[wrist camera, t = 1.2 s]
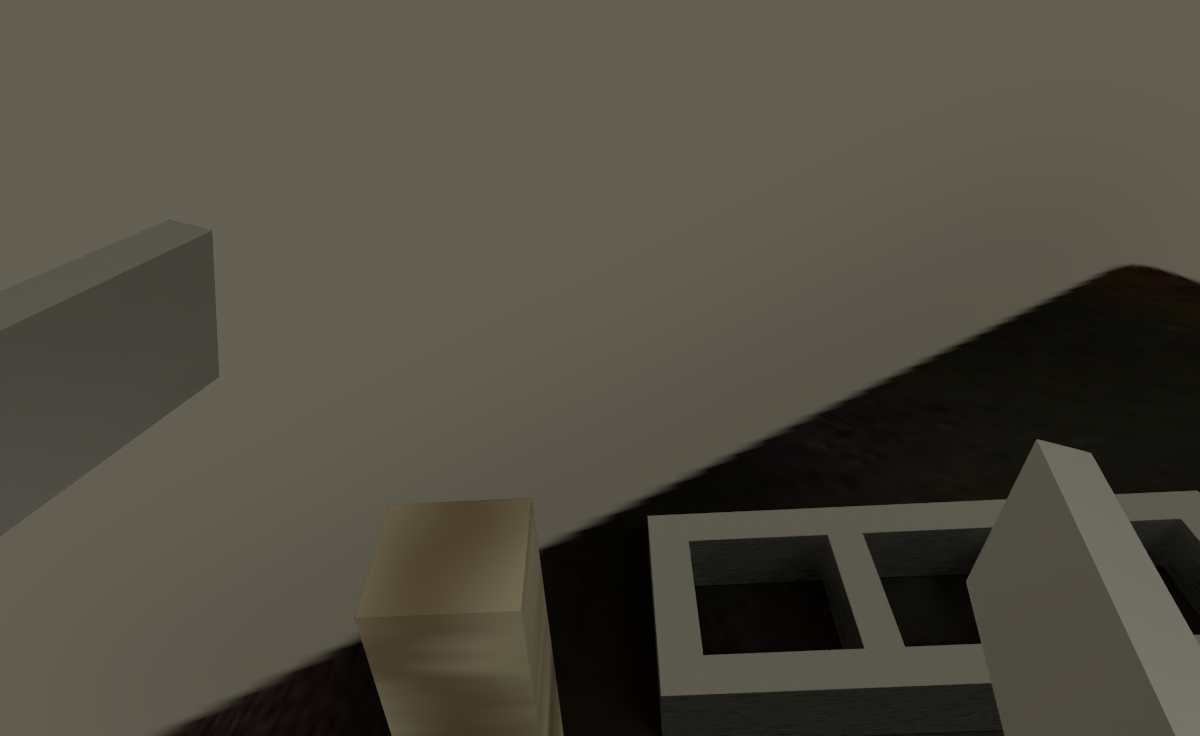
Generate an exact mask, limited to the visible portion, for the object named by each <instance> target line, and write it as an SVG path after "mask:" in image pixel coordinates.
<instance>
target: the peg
mask: <svg viewBox="0 0 1200 736" xmlns="http://www.w3.org/2000/svg"><path fill="white" fill-rule="evenodd" d="M355 621H356V624H357V627H358V631H359V634H360V637H361V640H362V643H363V646H364V650H365V653H366V656H367V659H368V662H369V665H370V668H371V672H372V675H373V678H374V681H375V684H376V687H377V691H378V694H379V697H380V700H381V703H382V706H383V709H384V713H385V716H386V719H387V722H388V725H389V728H390V732H391V735H392V736H564V735H563V727H562V720H561V713H560V705H559V698H558V690H557V683H556V676H555V668H554V661H553V653H552V646H551V639H550V631H549V624H548V616H547V609H546V602H545V594H544V587H543V579H542V572H541V565H540V557H539V550H538V542H537V535H536V528H535V520H534V513H533V505H532V498H523V499H504V500H503V499H501V500H480V501H461V502H460V501H458V502H437V503H416V504H394V505H389V506H388V509H387V512H386V516H385V519H384V522H383V526H382V529H381V532H380V536H379V539H378V542H377V546H376V549H375V552H374V555H373V559H372V562H371V565H370V568H369V572H368V575H367V578H366V582H365V585H364V588H363V592H362V595H361V598H360V601H359V605H358V608H357V611H356V615H355Z"/></svg>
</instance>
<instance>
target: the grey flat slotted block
mask: <svg viewBox="0 0 1200 736" xmlns="http://www.w3.org/2000/svg"><path fill="white" fill-rule="evenodd" d="M1114 495H1115V497H1116V498H1117V500H1118V502H1119V504H1120V505H1121V507H1122V509H1123V511H1124V513H1125V514H1126V516H1127V518H1128V520H1129V521H1130V523H1131V525H1132V527H1133V529H1134V530H1135V532H1136V534H1137V536H1138V537H1139V539H1140V541H1141V543H1142V545H1143V546H1144V548H1145V550H1146V552H1147V553H1148V555H1149V557H1150V559H1151V561H1152V562H1153V564H1154V566H1162V567H1163V569H1164V570H1165V571H1166V573H1167V574H1168V575H1169V577H1170V578H1171V579H1172V581H1173V582H1174V583H1175V585H1176V586H1177V587H1178V588H1179V590H1180V591H1181V592H1182V594H1183V595H1184V596H1185V598H1186V599H1187V600H1188V602H1189V603H1190V604H1191V606H1192V607H1193V608H1194V610H1195V611H1196V612H1197V614H1198V615H1199V616H1200V493H1199V492H1198V491H1179V492H1157V493H1135V494H1114ZM1006 500H1007V499H1005V500H984V501H962V502H940V503H918V504H897V505H875V506H853V507H832V508H810V509H788V510H766V511H745V512H723V513H701V514H680V515H658V516H648V536H649V562H650V576H651V590H652V603H653V617H654V631H655V645H656V659H657V673H658V687H659V701H660V715H661V729H662V736H861V735H888V734H914V733H940V732H966V731H992V730H1003V727H1002V723H1001V719H1000V715H999V711H998V707H997V703H996V699H995V695H994V691H993V687H992V683H991V679H990V675H989V671H988V667H987V663H986V659H985V656H984V652H983V648H982V644H964V645H940V646H916V647H905V645H904V643H903V640H902V637H901V635H900V632H899V629H898V626H897V624H896V621H895V618H894V616H893V613H892V610H891V608H890V605H889V602H888V600H887V597H886V594H885V592H884V589H883V586H882V584H881V581H880V578H889V577H912V576H935V575H958V574H970V572H971V570H972V568H973V566H974V564H975V562H976V560H977V558H978V556H979V554H980V552H981V550H982V548H983V546H984V544H985V542H986V540H987V538H988V536H989V534H990V532H991V530H992V528H993V526H994V524H995V522H996V520H997V518H998V516H999V514H1000V512H1001V510H1002V508H1003V506H1004V504H1005V502H1006ZM820 580H822V581H823V585H824V588H825V592H826V595H827V598H828V602H829V605H830V608H831V612H832V615H833V618H834V622H835V625H836V629H837V632H838V635H839V639H840V642H841V645H842V649H843V650H819V651H795V652H771V653H746V654H722V655H703V649H702V642H701V634H700V626H699V618H698V610H697V603H696V595H695V587H694V586H706V585H729V584H752V583H775V582H798V581H820ZM1194 637H1195V639H1196V640H1197V642H1198V644H1199V646H1200V635H1194Z"/></svg>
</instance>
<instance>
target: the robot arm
mask: <svg viewBox="0 0 1200 736" xmlns="http://www.w3.org/2000/svg"><path fill="white" fill-rule="evenodd" d="M218 377H219V363H218V342H217V321H216V302H215V280H214V261H213V239H212V230H208V229H204V228H200V227H196V226H193V225H188V224H185V223H181V222H177V221H173V220H167V221H165V222H163V223H160V224H158V225H156V226H153V227H151V228H148V229H146V230H144V231H141V232H139V233H137V234H134V235H132V236H130V237H127V238H125V239H123V240H121V241H118V242H115V243H113V244H111V245H109V246H106V247H104V248H102V249H99V250H97V251H94V252H92V253H90V254H87V255H85V256H83V257H80V258H78V259H75V260H73V261H71V262H69V263H66V264H64V265H61V266H59V267H57V268H54V269H52V270H50V271H47V272H45V273H43V274H40V275H38V276H35V277H33V278H31V279H28V280H26V281H24V282H21V283H19V284H17V285H14V286H12V287H9V288H7V289H5V290H2V291H0V536H1V535H2V534H4V533H5V532H7V531H8V530H9V529H10V528H12V527H13V526H15V525H16V524H18V523H19V522H20V521H21V520H23V519H24V518H26V517H27V516H28V515H30V514H31V513H33V512H34V511H35V510H37V509H38V508H40V507H41V506H42V505H44V504H45V503H46V502H48V501H49V500H51V499H52V498H53V497H55V496H56V495H57V494H59V493H60V492H61V491H63V490H64V489H65V488H67V487H68V486H70V485H71V484H73V483H74V482H75V481H77V480H78V479H79V478H81V477H82V476H83V475H85V474H86V473H87V472H89V471H90V470H92V469H93V468H94V467H96V466H97V465H99V464H100V463H101V462H103V461H104V460H105V459H107V458H108V457H110V456H111V455H112V454H114V453H115V452H116V451H118V450H119V449H121V448H122V447H123V446H125V445H126V444H127V443H129V442H130V441H132V440H133V439H134V438H136V437H137V436H138V435H140V434H141V433H142V432H144V431H145V430H147V429H148V428H149V427H151V426H152V425H154V424H155V423H156V422H158V421H159V420H160V419H162V418H163V417H164V416H166V415H167V414H168V413H170V412H171V411H173V410H174V409H176V408H177V407H178V406H180V405H181V404H182V403H184V402H185V401H186V400H188V399H189V398H191V397H192V396H193V395H195V394H196V393H198V392H199V391H200V390H202V389H203V388H204V387H206V386H207V385H209V384H210V383H211V382H212V381H214V380H215V379H217V378H218ZM966 584H967V588H968V592H969V596H970V600H971V604H972V608H973V612H974V616H975V620H976V624H977V628H978V632H979V636H980V640H981V644H982V648H983V652H984V656H985V659H986V663H987V667H988V671H989V675H990V679H991V683H992V687H993V691H994V695H995V699H996V703H997V707H998V711H999V715H1000V719H1001V723H1002V727H1003V731H1004V735H1005V736H1200V646H1199V644H1198V642H1197V640H1196V639H1195V637H1194V635H1193V633H1192V632H1191V630H1190V628H1189V626H1188V624H1187V623H1186V621H1185V619H1184V617H1183V616H1182V614H1181V612H1180V610H1179V608H1178V607H1177V605H1176V603H1175V601H1174V600H1173V598H1172V596H1171V594H1170V593H1169V591H1168V589H1167V587H1166V585H1165V584H1164V582H1163V580H1162V578H1161V577H1160V575H1159V573H1158V571H1157V569H1156V568H1155V566H1154V564H1153V562H1152V561H1151V559H1150V557H1149V555H1148V553H1147V552H1146V550H1145V548H1144V546H1143V545H1142V543H1141V541H1140V539H1139V537H1138V536H1137V534H1136V532H1135V530H1134V529H1133V527H1132V525H1131V523H1130V521H1129V520H1128V518H1127V516H1126V514H1125V513H1124V511H1123V509H1122V507H1121V505H1120V504H1119V502H1118V500H1117V498H1116V497H1115V495H1114V493H1113V491H1112V489H1111V488H1110V486H1109V484H1108V482H1107V481H1106V479H1105V477H1104V475H1103V473H1102V472H1101V470H1100V468H1099V466H1098V465H1097V463H1096V461H1095V459H1094V457H1093V456H1092V454H1091V453H1089V452H1085V451H1081V450H1077V449H1073V448H1069V447H1065V446H1061V445H1057V444H1053V443H1050V442H1046V441H1042V440H1038V439H1037V440H1036V442H1035V444H1034V446H1033V448H1032V450H1031V452H1030V454H1029V456H1028V458H1027V460H1026V462H1025V464H1024V466H1023V468H1022V470H1021V472H1020V474H1019V476H1018V478H1017V480H1016V482H1015V484H1014V486H1013V488H1012V490H1011V492H1010V494H1009V496H1008V498H1007V500H1006V502H1005V504H1004V506H1003V508H1002V510H1001V512H1000V514H999V516H998V518H997V520H996V522H995V524H994V526H993V528H992V530H991V532H990V534H989V536H988V538H987V540H986V542H985V544H984V546H983V548H982V550H981V552H980V554H979V556H978V558H977V560H976V562H975V564H974V566H973V568H972V570H971V572H970V574H969V576H968V578H967V580H966Z"/></svg>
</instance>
